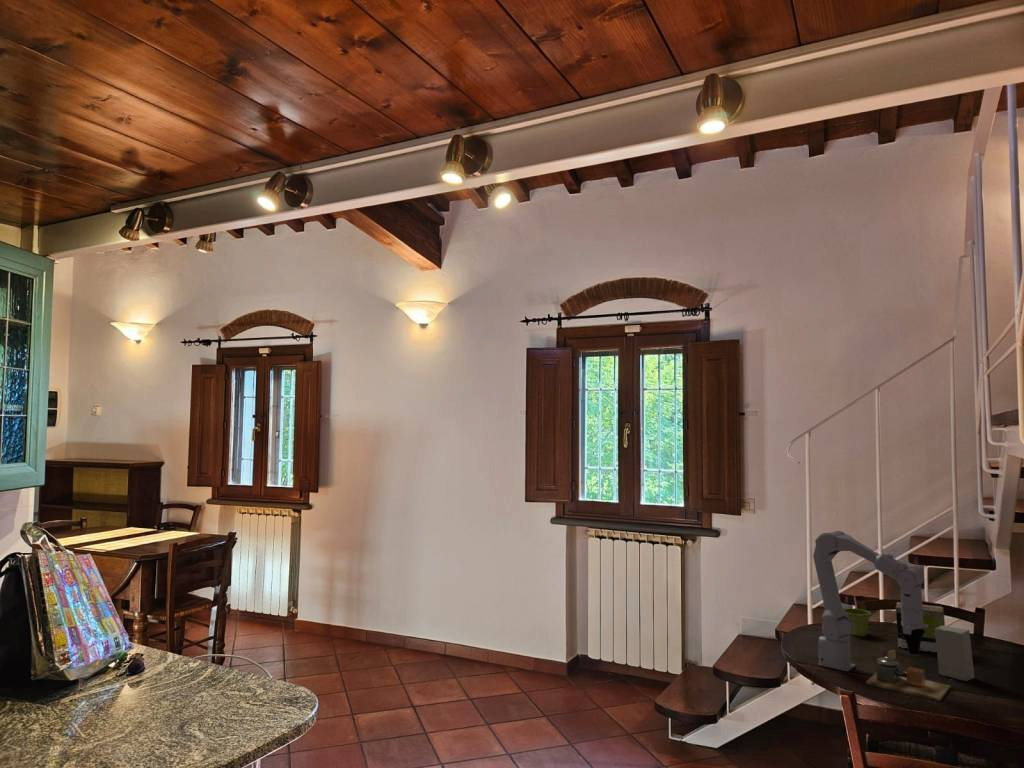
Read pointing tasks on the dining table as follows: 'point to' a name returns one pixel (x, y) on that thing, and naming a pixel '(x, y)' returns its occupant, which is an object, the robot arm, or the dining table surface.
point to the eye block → (887, 673)
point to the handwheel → (889, 659)
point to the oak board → (913, 687)
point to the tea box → (930, 617)
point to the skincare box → (954, 652)
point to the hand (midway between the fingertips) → (914, 653)
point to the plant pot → (859, 621)
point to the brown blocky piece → (913, 676)
